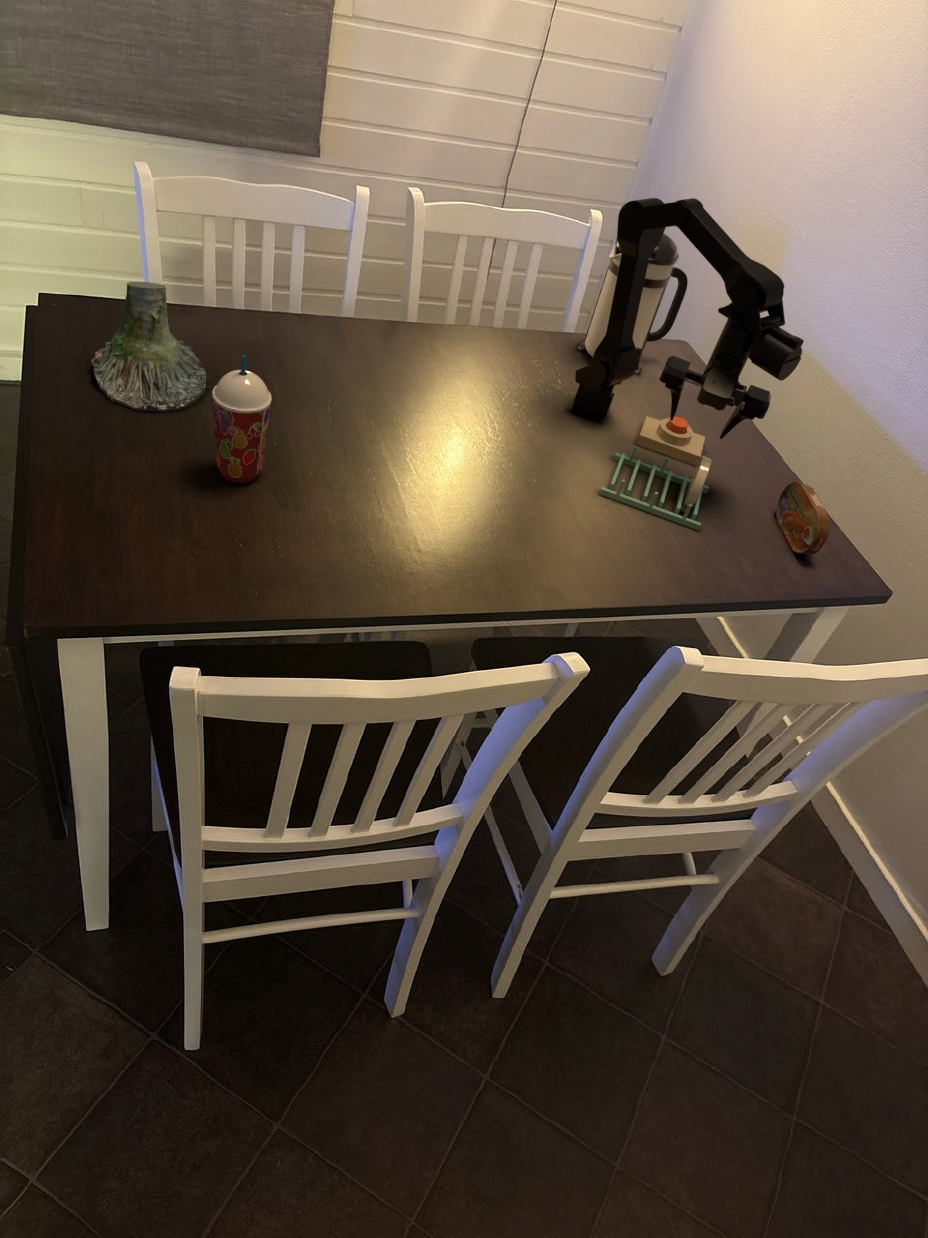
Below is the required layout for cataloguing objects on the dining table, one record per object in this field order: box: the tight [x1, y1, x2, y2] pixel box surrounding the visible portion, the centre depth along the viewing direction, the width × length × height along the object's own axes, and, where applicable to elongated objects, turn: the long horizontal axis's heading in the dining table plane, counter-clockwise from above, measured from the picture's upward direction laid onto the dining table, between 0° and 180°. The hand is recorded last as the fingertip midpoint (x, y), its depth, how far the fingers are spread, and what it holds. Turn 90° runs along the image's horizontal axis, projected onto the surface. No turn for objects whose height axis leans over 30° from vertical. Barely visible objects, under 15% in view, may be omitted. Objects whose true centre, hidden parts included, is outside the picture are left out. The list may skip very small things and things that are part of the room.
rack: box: [599, 445, 710, 531], centre depth 158 cm, size 18×13×4 cm
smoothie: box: [211, 354, 273, 484], centre depth 132 cm, size 8×8×20 cm
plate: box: [679, 455, 713, 515], centre depth 155 cm, size 2×9×10 cm, turn 162°
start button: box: [667, 416, 689, 434], centre depth 169 cm, size 4×4×2 cm
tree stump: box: [90, 281, 207, 413], centre depth 149 cm, size 18×20×18 cm
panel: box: [635, 415, 706, 467], centre depth 171 cm, size 12×8×4 cm, turn 73°
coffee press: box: [576, 232, 689, 375], centre depth 183 cm, size 17×16×30 cm
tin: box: [775, 481, 831, 555], centre depth 155 cm, size 15×3×8 cm, turn 5°
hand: (696, 428), depth 159 cm, fingers open, 9 cm apart
